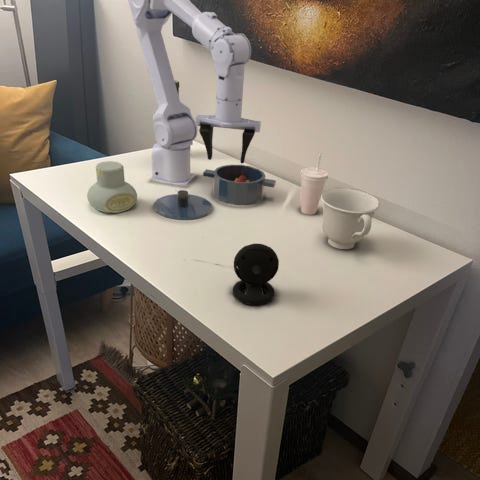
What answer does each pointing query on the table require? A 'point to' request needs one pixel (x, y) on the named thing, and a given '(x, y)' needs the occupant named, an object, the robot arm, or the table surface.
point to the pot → (238, 184)
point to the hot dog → (241, 179)
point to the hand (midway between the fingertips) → (226, 160)
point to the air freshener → (111, 189)
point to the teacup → (347, 216)
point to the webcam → (255, 273)
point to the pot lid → (182, 206)
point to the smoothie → (312, 187)
